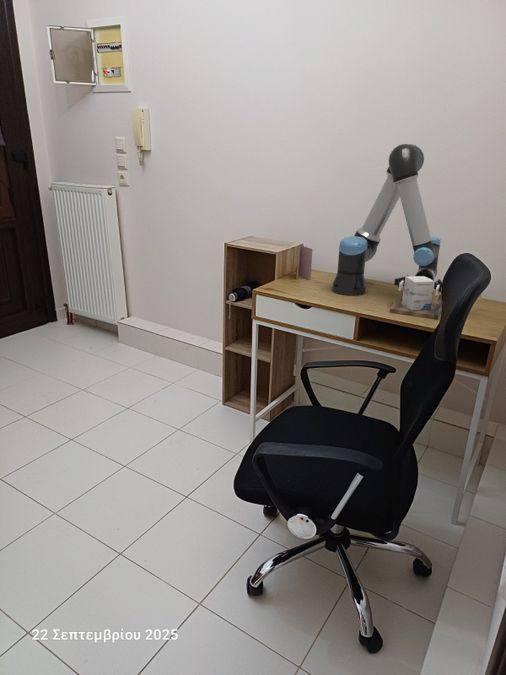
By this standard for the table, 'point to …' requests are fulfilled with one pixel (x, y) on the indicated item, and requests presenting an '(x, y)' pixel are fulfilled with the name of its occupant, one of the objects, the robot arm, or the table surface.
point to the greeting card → (304, 262)
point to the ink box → (418, 293)
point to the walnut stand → (432, 313)
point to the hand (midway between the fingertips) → (417, 289)
